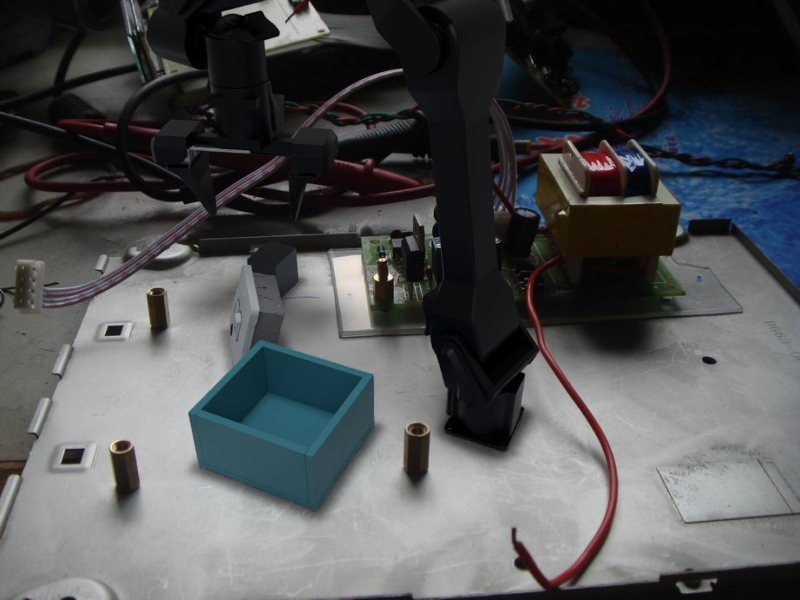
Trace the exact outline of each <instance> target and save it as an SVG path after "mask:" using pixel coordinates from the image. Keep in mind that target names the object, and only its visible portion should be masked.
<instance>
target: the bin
mask: <svg viewBox="0 0 800 600" xmlns="http://www.w3.org/2000/svg"><path fill="white" fill-rule="evenodd" d="M187 414H188V419H189V426H190V429H191V434H192V439H193V445H194V448H195V454H196V460H197V465H198V467H200V468H203V469H205V470H208V471H212V472H213V473H216V474H219V475H222V476H224V477H227V478H229V479H231V480H234V481H237V482H239V483H241V484H245V485H248V486H250V487H253V488H254V489H258V490H261V491H263V492H266V493H268V494H271V495H274V496H276V497H279V498H280V499H284V500H286V501H289V502H292V503H294V504H296V505H299V506H302V507H305V508H307V509H310V510H312V511H315V512H317V511H318V510H319V509H320V507H321V506H322V504H323V503H324V502H325V499H327V497H328V496H329V494H330V493H331V491H332V490H333V488H334V487H335V485H336V484H337V482H338V481H339V479H340V478H341V476H343V474H344V472H345V471H346V469H347V468H348V466H349V464H350V463H351V462H352V460H353V459H354V457H355V456H356V455H357V453H358V451H359V450H360V449H361V447H362V446H363V444H364V443H365V441H366V440H367V438H368V437H369V436H370V435H371V432H372V431H373V430H374V428H375V374H374V373H371V372H366V371H363V370H361V369H357V368H354V367H351V366H348V365H345V364H341V363H339V362H338V363H337V362H334V361H332V360H328V359H324V358H322V357H318V356H314V355H312V354H308V353H305V352H301V351H298V350H295V349H292V348H289V347H286V346H282V345H279V344H277V345H276V344H272V343H269V342H266V341H263V340H260V341H259V342H258V343H257V344H256V345H255V346H254V347H253V348H252V349H251V350H250V351H249V352H248V353H247V354H246V355H245V356H244V357H243V358H242V359H241V360H240V361H239V362H238V363H237V364H236V365H235V366H234V367H233V366H232V368H230V369H229V371H228V372H226V374H225V375H224V376H223V377H221V378H220V379H219V381H218V382H217V383H216V384H215V385H214V386H213V387H212V388H211V389H210V390H208V392H207V393H205V395H204V396H202V397H201V399H199V401H198V402H197V403H196V404H194V406H192V408H190V409H189V411H187Z"/></svg>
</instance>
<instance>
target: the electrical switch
mask: <svg viewBox="0 0 800 600" xmlns="http://www.w3.org/2000/svg"><path fill="white" fill-rule="evenodd" d="M229 317H230V318H229V323H228V328H227V329H228V331H227V332H228V339H229V347H230V355H231V360H232V368H233V367H234V366H235V365H236V364H237V363H238V362H239V361H240V360H241V359H242V358H243V357H244V356H245V355H246V354H247V353H248V352H249V351H250V350H251V349H252V348H253V347H254V346H255V345H256V344H257V343H258V342H259V341H260V340H263V341H266V342H269V343H272V344H276V345H278V341H279V338H280V334H281V330H282V326H283V322H284V318H285V309H284V305H283V301H282V297H280V293H279V289H278V285H277V281H276V277H275V275H264V274H261V273H254V272H252V269H251V265H247V264H242V265H241V268H240V272H239V276H238V280H237V284H236V289H235V293H234V298H233V302H232V307H231V312H230V316H229Z"/></svg>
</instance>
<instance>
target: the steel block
mask: <svg viewBox="0 0 800 600" xmlns="http://www.w3.org/2000/svg"><path fill="white" fill-rule="evenodd" d="M246 263H247V264H246V265H251V269H252V272H254V273H261V274H264V275H275V277H276V281H277V285H278V289H279V293H280V297H281V298H282V297H284V296H285V295H286V294H287V293H288V292H289V291H290V290H291V289H292V288H293V287H294V286H295V285H296V284H297V283H298V282H299V267H298V254H297V247H295V246H292V245H288V244H283V243H280V242H276V241H272V240H268V241H266V242H265V243H264V244H263V245H262V246H261V247H260V248H258V249H257V250H256V251H255V252H253V254H251V255H250V256H248V257H247V259H246Z"/></svg>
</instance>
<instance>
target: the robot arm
mask: <svg viewBox="0 0 800 600" xmlns="http://www.w3.org/2000/svg"><path fill="white" fill-rule="evenodd" d="M265 1H266V0H157V3H158V6H157V7H156V8H155V9H154V10H153V11H152V13H151V15H150V17H149V20H148V23H147V29H146V31H145V37H146V41H147V44H148V46H149V48H150V50H151V51H152V52H153V54H154V55H155V56H157V57H159V58H160V59H163V60H167V61H169V62H173V63H176V64H179V65H183V66H185V67H188V68H192V69H195V70H198V71H208V79H209V87H210V94H209V95H208V96H207V104H208V108H211V109H212V111H213V118H214V124H215V125H214V126H215V133H212V132H206V126H205V125H204V123H203V122H202V121H201V120H186V119H185V120H184V119H169V121H167V123H165V125H163V126H162V127H161V129H160V130H158V131H157V132H156V133H155V134H154V136H153V137H152V138H151V140H150V151H151V157H152V161H153V162H154V163H155V164H160V165H163V164H164V165H165V168H166V170H167V171H169V172H173V173H175V174H176V175H177V176H178V177H179V178H180V179H181V180H182V182H183V183H184V184H185V185H186V186H187V187H188V188H189V189H190V191H191V192H192V193H193V194H194V195H195V198H196V199H197V200H198V202H200V204H201V205H202V207H203V208H204V210H205V211H206V213H207V214H208V215H209V216H210V217H213V218H214V217H215V216H216V215H217V213H218V211H217V209H218V208H217V198H216V192H215V188H214V182H213V177H212V174H211V168H210V155H211V153H219V154H236V155H250V156H252V155H254V156H266V157H267V156H268V157H283V158H289V165H290V166H291V170H290V171H289V173H288V175H287V177H288V179H287V180H288V208H289V211H288V212H289V218H290V221H291V223H296V221H297V219H298V216H299V212H300V208H301V205H302V202H303V200H304V195H305V192H306V188H307V185H308V182H309V181H315V180H317V179H318V178H319V176H320V175H325V174H327V173H330V171H331V169H332V167H333V165H334V164H335V161H336V158H337V156H338V154H339V137H338V135H337V134H336V132H335V131H334V130H333V129H332V128H320V127H305V126H304V127H303V126H301V127H299V129H298V131H297V133H296V134H295V135H294V137H282V136H281V137H280V136H279V137H278V136H274V134H273V132H276V133H277V132H278V131H279V129H280V128H281V126H280V124H281V125H282V124H283V125H284V123H285V94H278V93H277V94H275V93H273V85H272V83H271V80H270V81H269V77H268V67H267V66H268V65H267V55H266V43H265V41H268V40H272V39H274V38H278V37H280V36H281V31H280V29H279V28H278V26H277V25H276V24H275V23H274V22H273V21H271V20H270V19H269V18H268V17H267V16H266V15H265V13H264V11H263V10H256V11H252V12H249V13H245V14H244V15H243V14H239V13H227V14H224V15H223V12H227V11H231V10H235V9H239V8H243V7H246V6H250V5H254V4H259V3H262V2H265ZM365 1H366V4H367V8H368V10H369V13H370V17H371V19H372V22H373V25H374V29H375V31H377V33H378V34H379V35H380V36H381V37H382V39H383V40H384V41H385V42H386V43H387V44H388V45H389V47H391V48H392V50H393V51H394V52H395V53H396V54H397V55H398V56H399V62H400V64H401V69H402V73H403V78H404V82H405V85H406V90H407V91H408V94H409V95H410V96H411V98H412V99H413V101H414V102H415V103H416V105H417V107H418V108H419V109H420V110H421V112H422V113H423V115H424V117H425V118H426V120H427V124H428V131H429V132H428V133H429V142H430V152H431V163H432V165H431V166H432V175H433V183H434V195H435V205H436V215H437V224H438V235H439V245H440V247H439V248H440V255H441V257H440V258H441V267H442V279H441V282H440V283H439V284H437V285H436V286H435V287H433V288H432V289H431V290H429V291H428V292H426V294H424V295H423V296H422V302H421V307H422V310H423V313H424V314H423V315H424V319H425V327H424V331H423V335H424V336H425V337H428V336H429V340H430V345H431V349H432V351H433V352H434V353H433V354H434V355H435V356H436V361H437V363H438V366H439V367H438V368H439V370H440V373H441V377H442V381H443V385H444V387H445V388H446V405H445V406H446V407H445V414H446V416H448V419H447V421H446V422H445V424H444V426H443V431H444V433H445V434H447V435H450V436H453V437H456V438H460V439H462V440H465V441H468V442H472V443H475V444H478V445H481V446H484V447H487V448H489V449H493V450H496V451H500V452H507V451H508V449H509V448H510V445H511V442H512V440H513V439H514V436H515V434H516V432H517V429H518V427H519V425H520V424H521V421H522V418H523V416H524V415H525V407H524V406H523V405H522V402H523V401H522V400H523V395H524V387H525V379H526V373H525V372H523V371H524V370H525V369H526V367H528V366H529V365H531V364H532V363H533V362H534V361H535V358H536V357H537V356H538V355H539V353H540V351H541V350H540V347H539V345H538V344H537V342H536V341H535V340H534V338H533V336H532V334H530V332H529V330H528V328H527V327H526V326H525V324H524V323H523V321H522V320H521V318H520V317H519V313H518V308H517V302H516V299H515V298H516V297H515V295H514V290H513V288H512V286H511V285H510V284H509V282H508V281H507V280H506V278H505V277H504V275H503V274H502V272H501V271H500V269H499V266H498V256H497V255H498V253H497V239H496V221H495V220H496V218H495V203H494V186H493V167H492V152H491V151H492V150H491V135H490V116H489V115H490V109H491V106H492V103H493V100H494V97H495V94H496V91H497V88H498V85H499V83H500V81H501V77H502V74H503V69H504V60H505V50H506V40H507V25H506V24H507V23H506V19H505V15H504V13H503V11H502V9H501V8H500V7H498V6H497V5H496V4H495V3H494V2H493V0H417V1H418V2H420V3H422V4H423V5H420V6H414V4H413V3H412V2H411V1H410V0H365Z"/></svg>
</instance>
